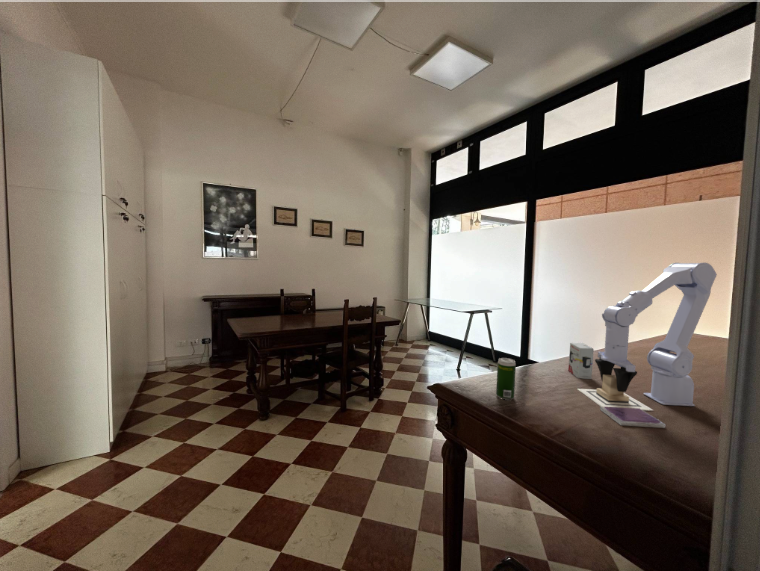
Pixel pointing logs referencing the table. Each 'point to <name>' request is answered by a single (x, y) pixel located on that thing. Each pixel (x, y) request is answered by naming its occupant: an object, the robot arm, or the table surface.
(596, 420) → the table surface
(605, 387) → the wooden stamp
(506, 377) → the green canister
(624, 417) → the ink pad
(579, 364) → the ink box
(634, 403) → the paper sheet
